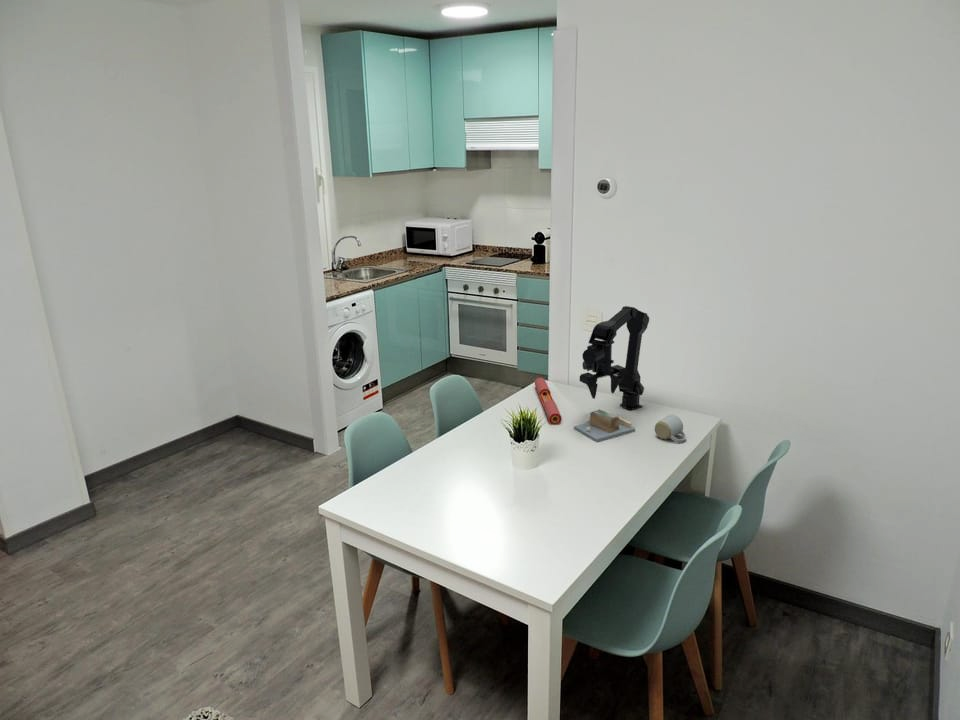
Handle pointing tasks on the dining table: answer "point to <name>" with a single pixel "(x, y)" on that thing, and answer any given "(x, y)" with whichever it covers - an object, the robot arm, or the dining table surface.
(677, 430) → the ceramic mug
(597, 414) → the frame
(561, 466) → the dining table surface
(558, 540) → the dining table surface
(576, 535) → the dining table surface
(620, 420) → the grey flat panel
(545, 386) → the blood vessel
